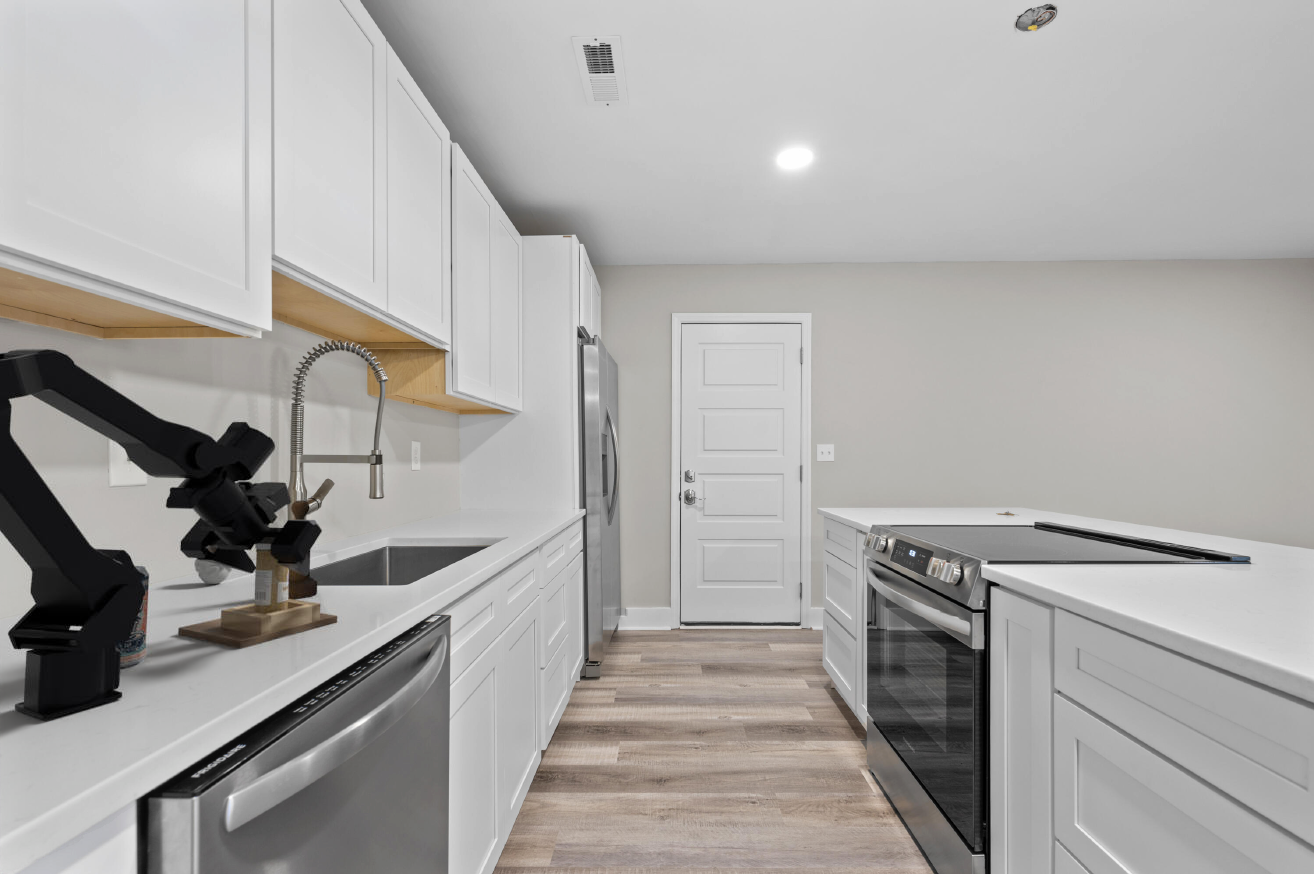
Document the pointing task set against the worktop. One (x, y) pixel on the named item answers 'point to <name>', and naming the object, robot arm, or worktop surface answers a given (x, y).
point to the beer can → (136, 631)
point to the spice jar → (270, 582)
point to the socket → (258, 624)
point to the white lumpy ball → (211, 572)
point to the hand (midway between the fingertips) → (280, 571)
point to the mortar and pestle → (305, 584)
